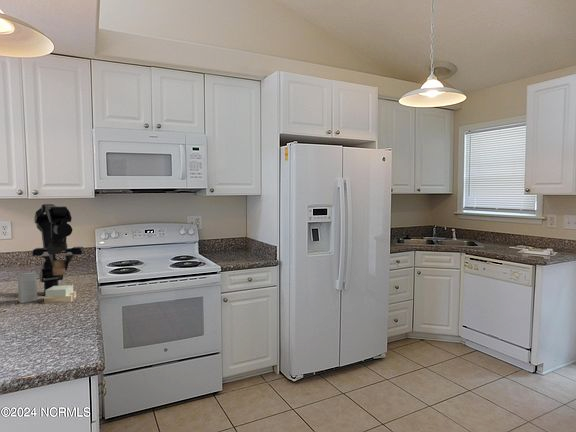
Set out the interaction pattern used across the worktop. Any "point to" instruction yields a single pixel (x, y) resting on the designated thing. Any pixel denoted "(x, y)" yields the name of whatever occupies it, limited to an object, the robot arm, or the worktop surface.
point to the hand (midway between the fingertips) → (59, 270)
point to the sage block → (59, 291)
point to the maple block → (60, 298)
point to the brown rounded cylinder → (59, 267)
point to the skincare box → (27, 287)
